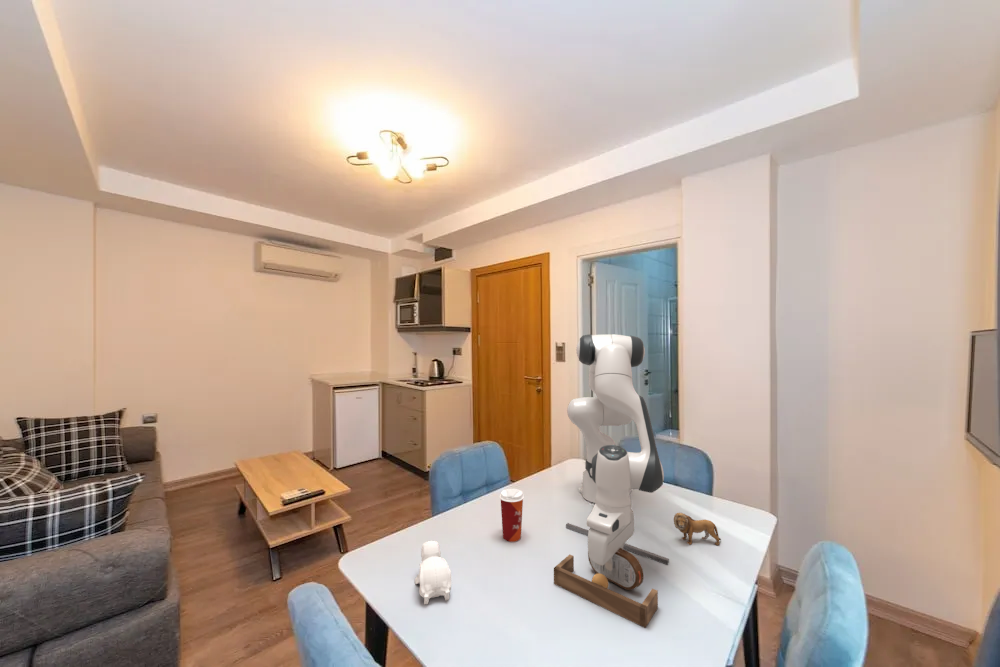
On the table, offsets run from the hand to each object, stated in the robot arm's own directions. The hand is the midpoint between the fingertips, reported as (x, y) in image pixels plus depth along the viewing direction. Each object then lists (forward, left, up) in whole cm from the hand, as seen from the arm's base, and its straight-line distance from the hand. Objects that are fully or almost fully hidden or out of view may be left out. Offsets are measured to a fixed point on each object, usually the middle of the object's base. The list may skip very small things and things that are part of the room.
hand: (613, 564), depth 99 cm
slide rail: (-17, -8, -4) cm, 19 cm away
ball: (+6, -1, -2) cm, 6 cm away
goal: (+7, 0, -4) cm, 8 cm away
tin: (+1, 0, -4) cm, 4 cm away
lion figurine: (-34, +12, -4) cm, 36 cm away
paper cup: (0, -34, -4) cm, 34 cm away
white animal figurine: (+31, -34, -4) cm, 46 cm away
